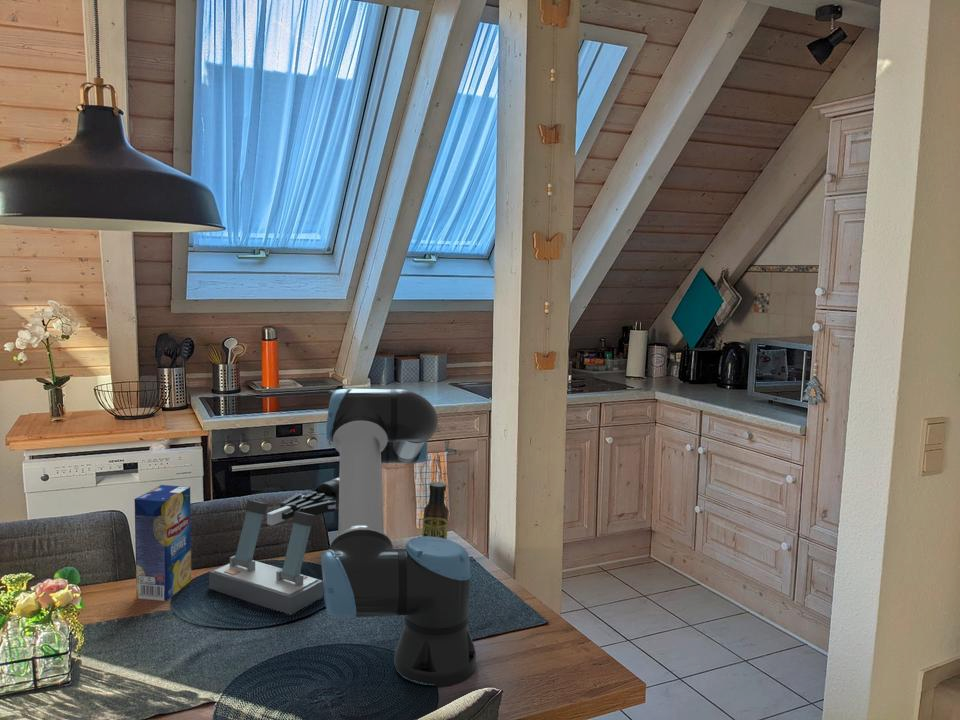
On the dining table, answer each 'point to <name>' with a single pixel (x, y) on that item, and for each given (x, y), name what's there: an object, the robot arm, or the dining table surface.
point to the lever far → (250, 532)
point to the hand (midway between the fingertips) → (269, 519)
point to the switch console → (265, 586)
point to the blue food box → (162, 542)
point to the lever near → (297, 545)
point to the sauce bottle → (436, 512)
